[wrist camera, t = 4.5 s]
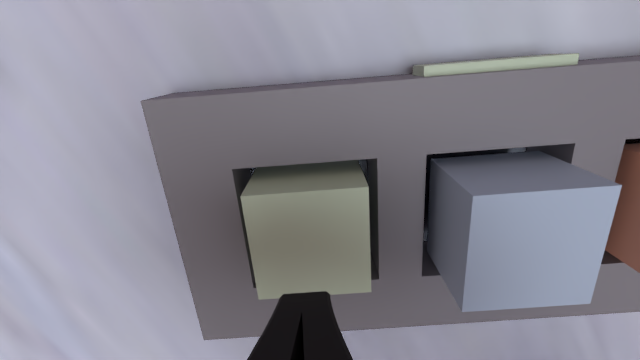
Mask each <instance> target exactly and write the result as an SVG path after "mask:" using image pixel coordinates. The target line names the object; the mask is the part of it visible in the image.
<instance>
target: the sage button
mask: <svg viewBox="0 0 640 360" xmlns="http://www.w3.org/2000/svg"><path fill="white" fill-rule="evenodd" d="M240 198H241V203H242V209H243V214H244V220H245V226H246V231H247V237H248V243H249V248H250V254H251V259H252V265H253V271H254V276H255V282H256V288H257V293H258V299H259V300H262V299H277V298H280V297H281V296H282V295H283V294H291V293H306V292H321V291H326V292H328V293H329V294H330V295H336V294H351V293H366V292H371V257H370V218H369V187H368V184H367V182H366V179H365V177H364V174H363V172H362V169H361V167H360V164H359V162H358V160H348V161H334V162H321V163H308V164H295V165H282V166H268V167H257V168H256V169H255V171H254V173H253V175H252V176H251V178H250V180H249V182H248V184H247V185H246V187H245V189H244V191H243V193H242V194H241V196H240Z"/></svg>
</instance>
